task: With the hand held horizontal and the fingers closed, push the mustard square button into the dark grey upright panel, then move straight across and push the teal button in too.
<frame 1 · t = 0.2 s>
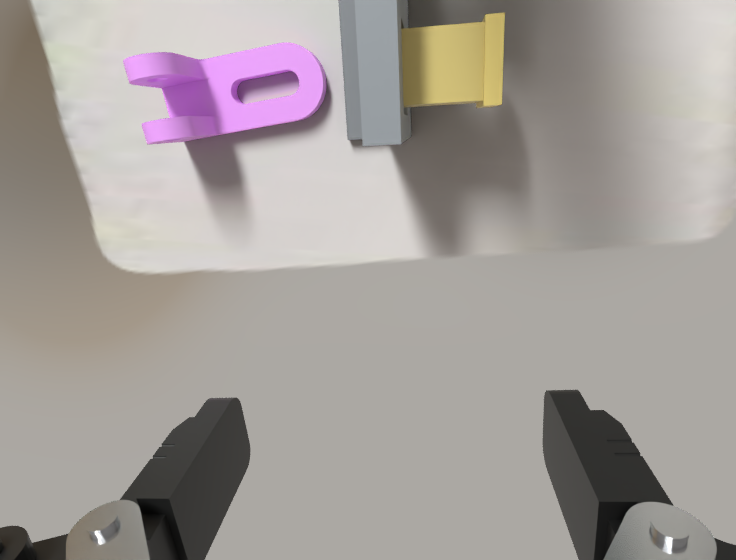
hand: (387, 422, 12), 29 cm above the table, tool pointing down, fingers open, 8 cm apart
bracket: (249, 92, 38), on the table
mustard button: (442, 68, 28), point 8 cm above the table, slide at 0.0 cm
panel: (394, 17, 35), on the table
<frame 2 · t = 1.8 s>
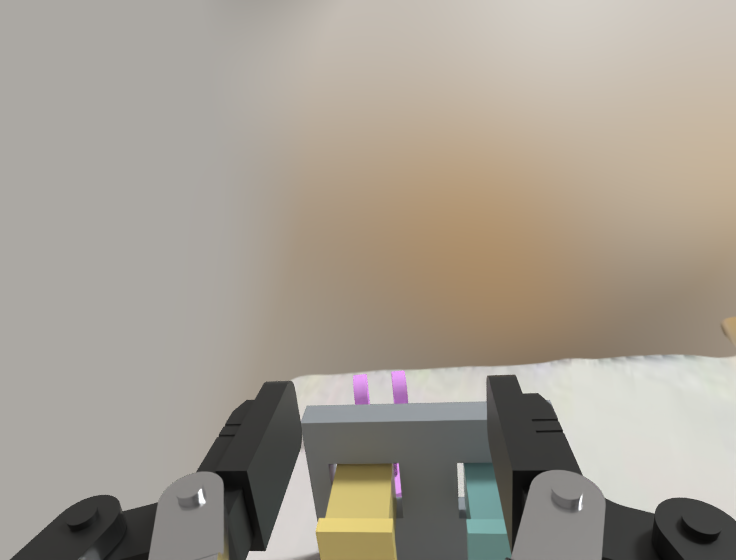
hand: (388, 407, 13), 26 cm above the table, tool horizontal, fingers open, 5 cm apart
bracket: (387, 458, 49), on the table
teal button: (499, 517, 31), point 8 cm above the table, slide at 0.0 cm
mustard button: (363, 517, 32), point 8 cm above the table, slide at 0.0 cm
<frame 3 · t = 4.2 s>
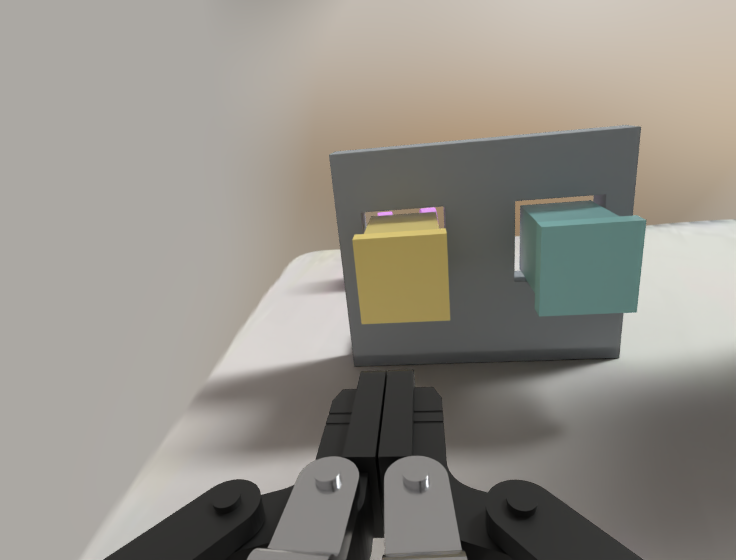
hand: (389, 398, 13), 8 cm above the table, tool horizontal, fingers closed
teal button: (569, 251, 26), point 8 cm above the table, slide at 0.0 cm
mustard button: (404, 261, 27), point 8 cm above the table, slide at 0.0 cm
panel: (480, 354, 32), on the table
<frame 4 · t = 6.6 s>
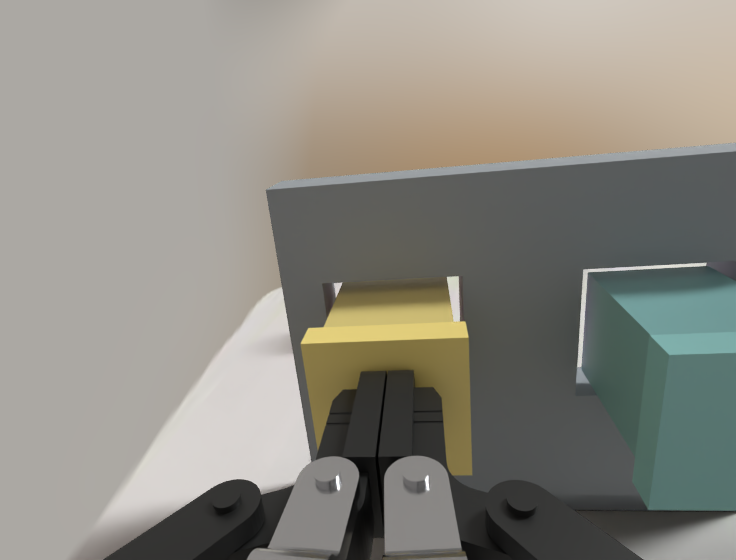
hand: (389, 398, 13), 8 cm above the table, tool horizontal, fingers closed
teal button: (688, 366, 14), point 8 cm above the table, slide at 0.0 cm
mustard button: (394, 356, 17), point 8 cm above the table, slide at 1.2 cm, touching gripper
panel: (513, 491, 21), on the table
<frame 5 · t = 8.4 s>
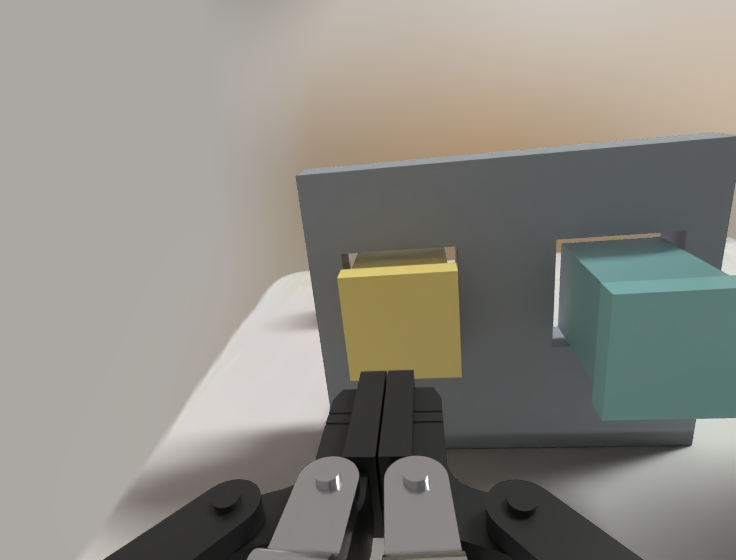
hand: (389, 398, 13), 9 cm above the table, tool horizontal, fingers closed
teal button: (639, 314, 18), point 8 cm above the table, slide at 0.0 cm
mustard button: (403, 297, 22), point 8 cm above the table, slide at 3.0 cm
panel: (502, 434, 24), on the table
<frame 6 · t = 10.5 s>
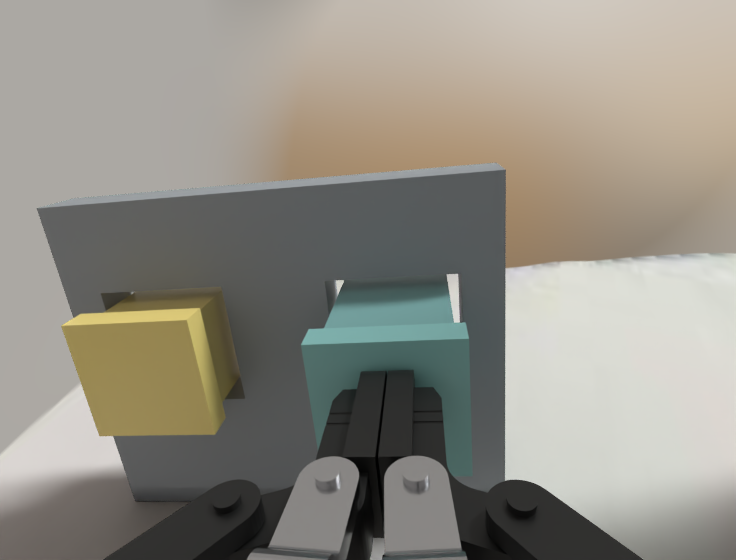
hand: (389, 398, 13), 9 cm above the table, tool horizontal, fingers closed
teal button: (395, 356, 17), point 8 cm above the table, slide at 0.9 cm, touching gripper
mustard button: (183, 339, 20), point 8 cm above the table, slide at 3.0 cm
panel: (315, 485, 22), on the table
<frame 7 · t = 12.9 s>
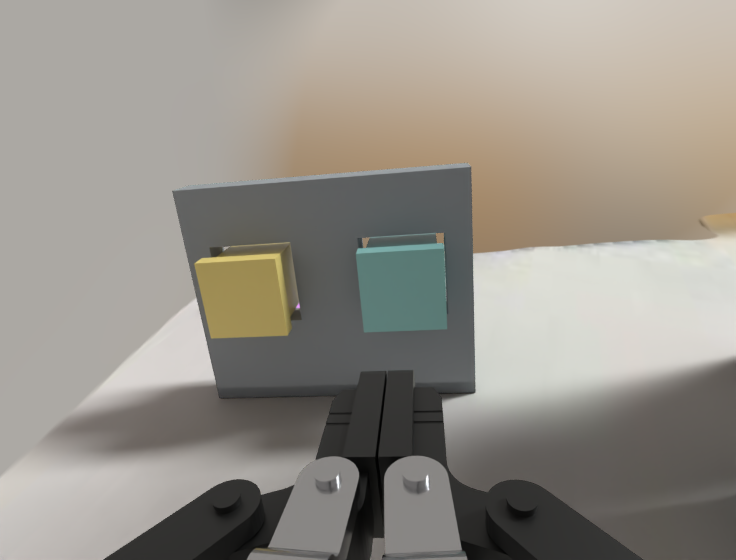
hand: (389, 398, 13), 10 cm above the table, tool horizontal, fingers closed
teal button: (404, 272, 28), point 8 cm above the table, slide at 3.0 cm
mustard button: (259, 280, 29), point 8 cm above the table, slide at 3.0 cm
panel: (345, 386, 32), on the table
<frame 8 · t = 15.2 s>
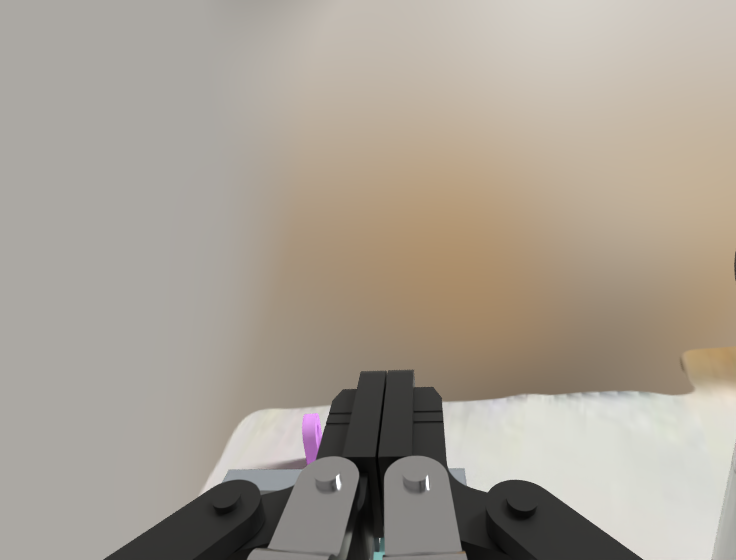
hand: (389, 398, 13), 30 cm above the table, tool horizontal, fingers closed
bracket: (333, 499, 50), on the table
teal button: (411, 548, 34), point 8 cm above the table, slide at 3.0 cm
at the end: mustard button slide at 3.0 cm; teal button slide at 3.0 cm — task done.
